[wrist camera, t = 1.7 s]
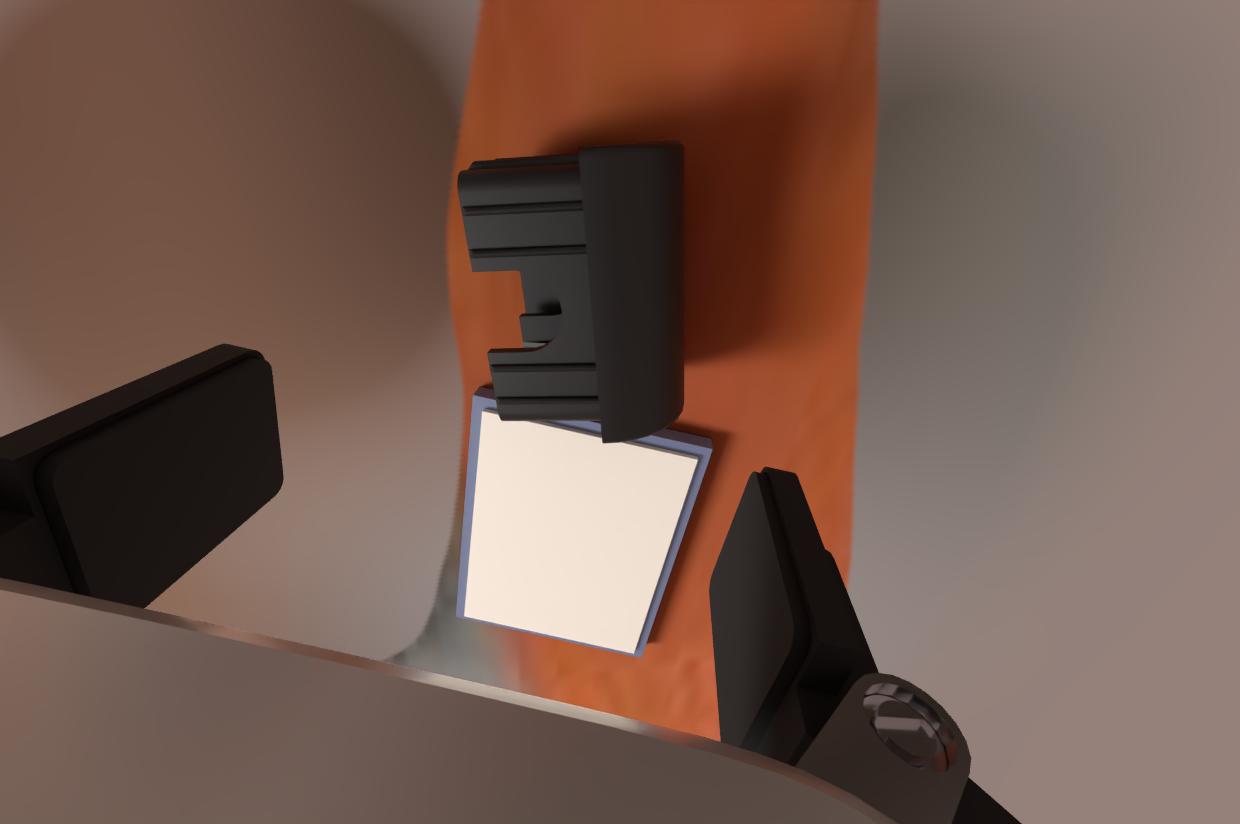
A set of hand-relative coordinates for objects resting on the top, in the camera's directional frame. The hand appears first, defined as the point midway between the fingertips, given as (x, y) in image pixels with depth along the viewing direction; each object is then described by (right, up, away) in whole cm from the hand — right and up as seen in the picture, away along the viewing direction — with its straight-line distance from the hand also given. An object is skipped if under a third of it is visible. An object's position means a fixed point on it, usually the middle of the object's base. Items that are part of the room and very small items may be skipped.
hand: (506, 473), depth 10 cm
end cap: (+1, +8, +13) cm, 15 cm away
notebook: (-1, -6, +20) cm, 21 cm away
